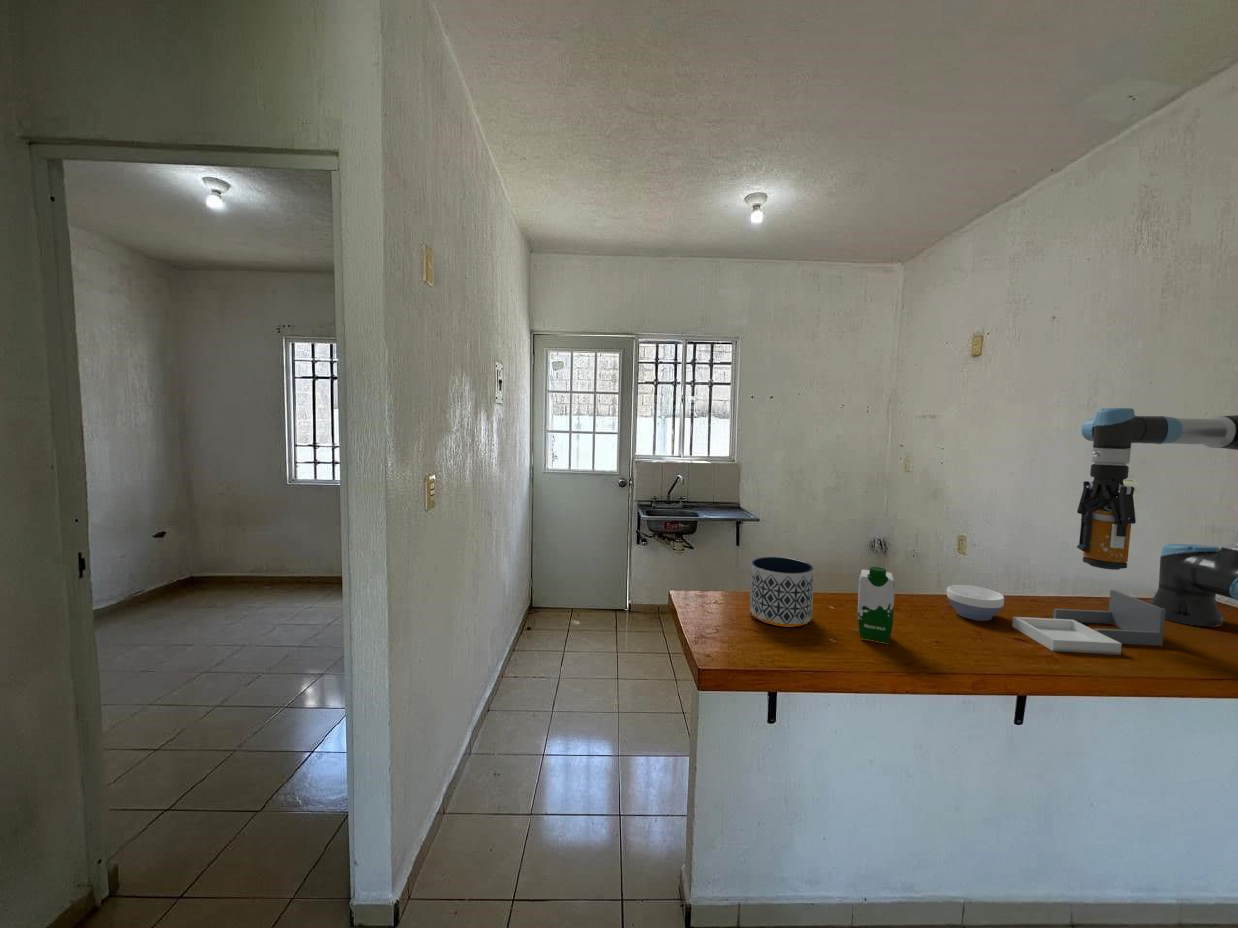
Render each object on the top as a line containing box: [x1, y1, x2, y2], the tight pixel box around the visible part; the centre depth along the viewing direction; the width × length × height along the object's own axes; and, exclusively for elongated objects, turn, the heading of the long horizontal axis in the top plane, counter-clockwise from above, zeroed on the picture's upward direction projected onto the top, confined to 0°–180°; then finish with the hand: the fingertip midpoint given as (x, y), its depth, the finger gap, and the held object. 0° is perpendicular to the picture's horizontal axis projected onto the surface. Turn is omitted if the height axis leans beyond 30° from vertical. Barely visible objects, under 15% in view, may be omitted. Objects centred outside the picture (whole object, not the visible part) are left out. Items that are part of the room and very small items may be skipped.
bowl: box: [946, 584, 1005, 622], centre depth 154 cm, size 14×14×8 cm
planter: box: [749, 556, 815, 625], centre depth 152 cm, size 18×18×16 cm
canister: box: [1076, 495, 1132, 571], centre depth 139 cm, size 9×11×20 cm
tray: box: [1012, 616, 1123, 656], centre depth 137 cm, size 16×16×3 cm
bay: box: [1052, 589, 1166, 646], centre depth 142 cm, size 16×16×10 cm
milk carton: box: [857, 566, 896, 644], centre depth 137 cm, size 9×9×20 cm
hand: (1102, 543), depth 140 cm, fingers closed on canister, 9 cm apart
